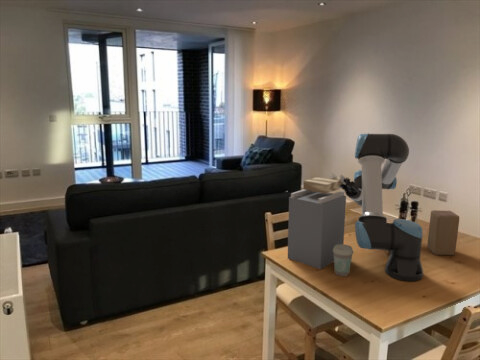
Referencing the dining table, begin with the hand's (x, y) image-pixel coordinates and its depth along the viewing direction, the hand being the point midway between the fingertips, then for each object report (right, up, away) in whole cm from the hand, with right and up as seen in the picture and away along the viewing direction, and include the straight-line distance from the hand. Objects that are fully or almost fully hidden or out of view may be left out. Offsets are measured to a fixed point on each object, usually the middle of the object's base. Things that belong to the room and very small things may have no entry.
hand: (336, 176), depth 186 cm
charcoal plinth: (-11, -39, -4) cm, 40 cm away
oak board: (-3, -5, -3) cm, 6 cm away
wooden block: (+52, -37, +3) cm, 65 cm away
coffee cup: (-3, -42, -21) cm, 47 cm away
